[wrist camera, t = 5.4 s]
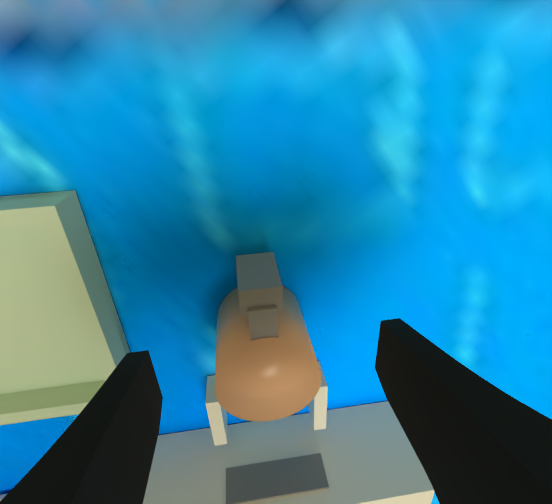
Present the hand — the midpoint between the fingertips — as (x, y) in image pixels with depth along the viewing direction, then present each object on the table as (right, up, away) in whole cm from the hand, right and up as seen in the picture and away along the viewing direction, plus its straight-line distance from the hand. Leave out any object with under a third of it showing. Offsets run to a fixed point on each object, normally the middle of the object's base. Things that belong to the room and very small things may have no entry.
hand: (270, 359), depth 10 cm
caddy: (-1, +1, +8) cm, 8 cm away
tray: (-14, 0, +6) cm, 15 cm away
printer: (0, -8, +13) cm, 15 cm away
